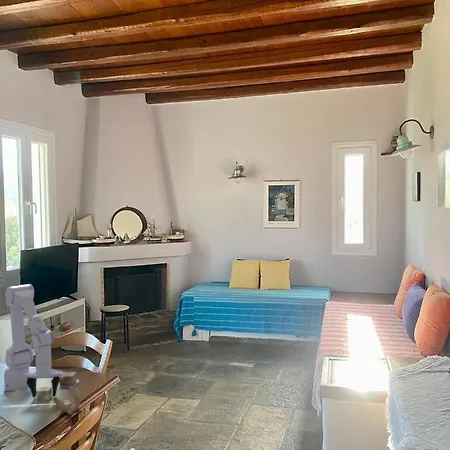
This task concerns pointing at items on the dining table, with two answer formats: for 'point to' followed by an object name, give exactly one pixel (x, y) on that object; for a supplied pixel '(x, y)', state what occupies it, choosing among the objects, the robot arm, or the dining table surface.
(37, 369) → the robot arm
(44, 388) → the sage block
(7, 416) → the dining table surface
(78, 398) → the beige lumpy piece
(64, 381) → the walnut base
